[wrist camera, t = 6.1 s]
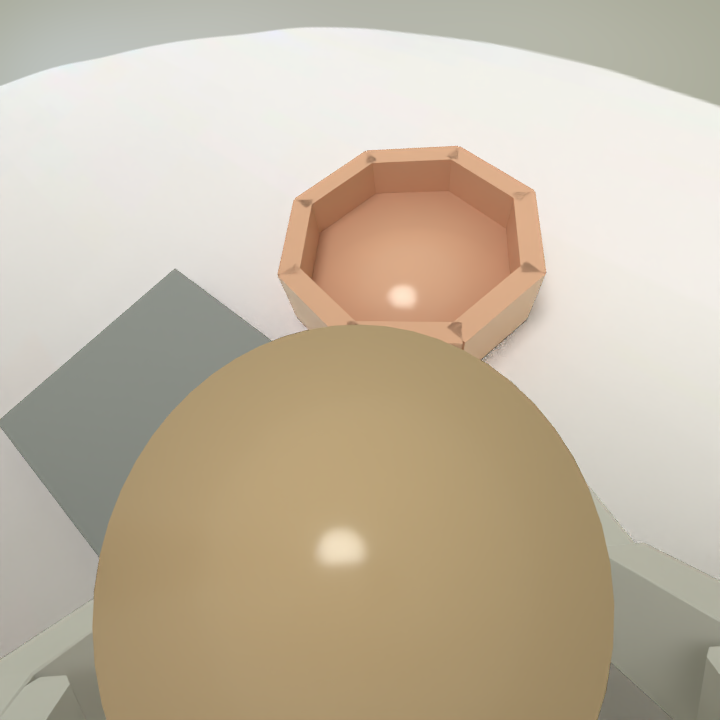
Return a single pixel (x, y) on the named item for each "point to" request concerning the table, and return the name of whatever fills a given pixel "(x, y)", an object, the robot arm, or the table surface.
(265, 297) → the table surface
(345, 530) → the spice jar
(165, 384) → the slate coaster
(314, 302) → the terracotta dish
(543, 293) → the table surface
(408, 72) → the table surface
